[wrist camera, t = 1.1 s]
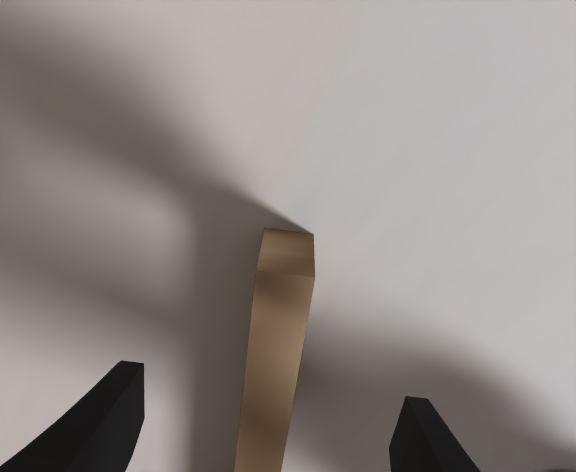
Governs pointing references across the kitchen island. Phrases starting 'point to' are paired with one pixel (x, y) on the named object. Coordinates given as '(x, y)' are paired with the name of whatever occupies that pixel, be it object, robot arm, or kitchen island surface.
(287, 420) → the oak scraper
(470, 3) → the kitchen island surface
